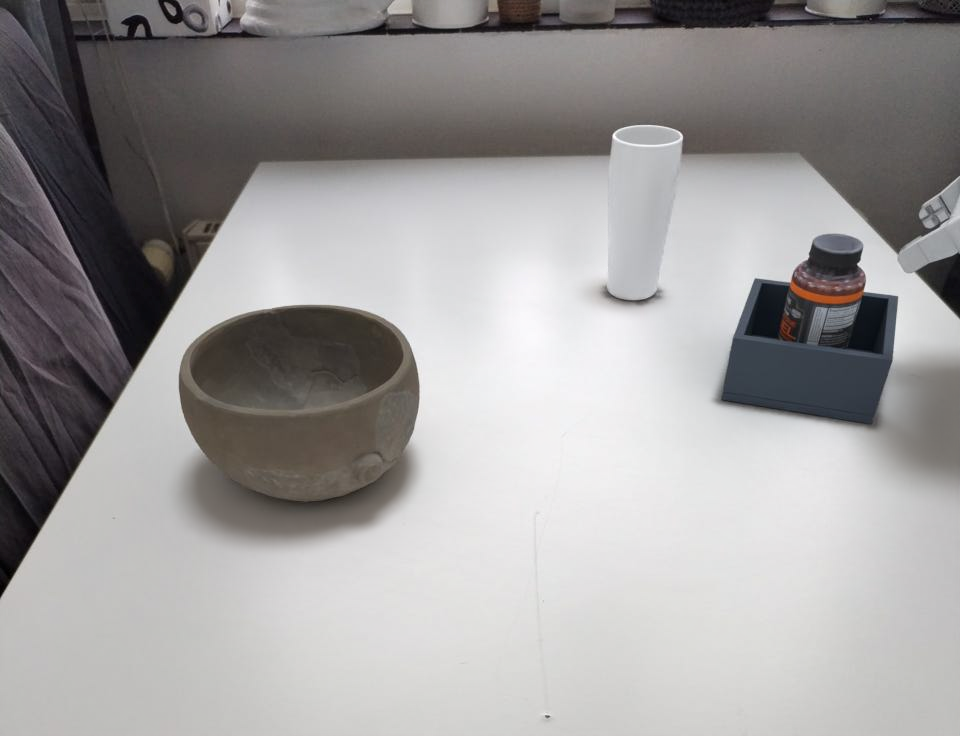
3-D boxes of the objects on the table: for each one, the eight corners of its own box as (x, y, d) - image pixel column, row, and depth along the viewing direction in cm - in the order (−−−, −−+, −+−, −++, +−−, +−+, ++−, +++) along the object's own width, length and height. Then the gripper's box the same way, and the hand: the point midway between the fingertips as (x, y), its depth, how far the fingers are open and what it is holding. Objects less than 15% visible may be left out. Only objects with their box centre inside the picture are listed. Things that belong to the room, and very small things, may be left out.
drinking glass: (646, 274, 97) (664, 121, 87) (675, 299, 93) (697, 140, 82) (589, 284, 96) (600, 129, 85) (615, 309, 91) (630, 149, 81)
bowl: (437, 517, 67) (429, 397, 60) (196, 545, 65) (159, 424, 58) (412, 401, 79) (403, 290, 72) (208, 422, 77) (179, 310, 70)
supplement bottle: (761, 356, 82) (789, 229, 74) (824, 352, 82) (858, 225, 74) (784, 389, 78) (816, 258, 70) (850, 384, 78) (889, 253, 70)
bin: (742, 337, 87) (754, 277, 82) (879, 356, 83) (898, 295, 79) (721, 400, 78) (732, 337, 74) (871, 424, 75) (892, 360, 71)
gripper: (1099, 38, 65) (915, 164, 76) (1083, 116, 53) (866, 254, 63) (1137, 113, 67) (952, 226, 77) (1131, 206, 54) (911, 326, 65)
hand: (913, 239), depth 70 cm, fingers open, 8 cm apart
